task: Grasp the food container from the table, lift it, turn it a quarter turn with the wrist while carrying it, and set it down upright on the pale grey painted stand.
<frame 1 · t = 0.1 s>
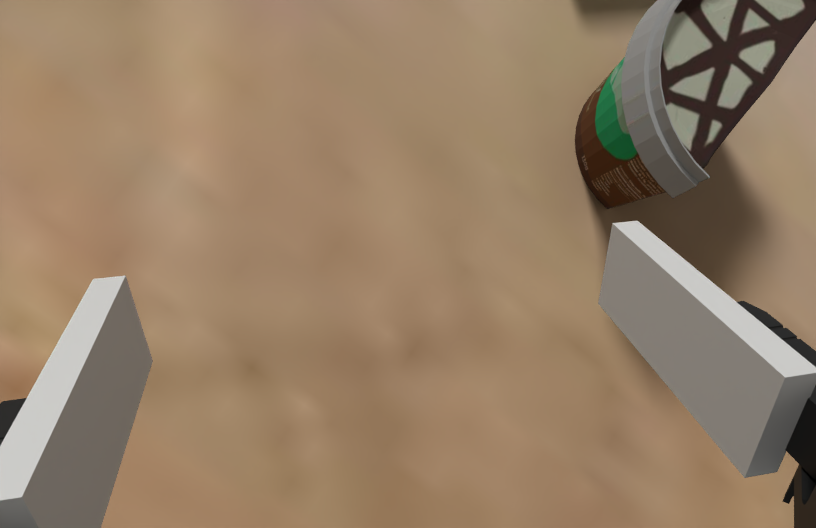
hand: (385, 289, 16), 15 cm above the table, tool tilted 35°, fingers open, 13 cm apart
food container: (612, 117, 34), on the table
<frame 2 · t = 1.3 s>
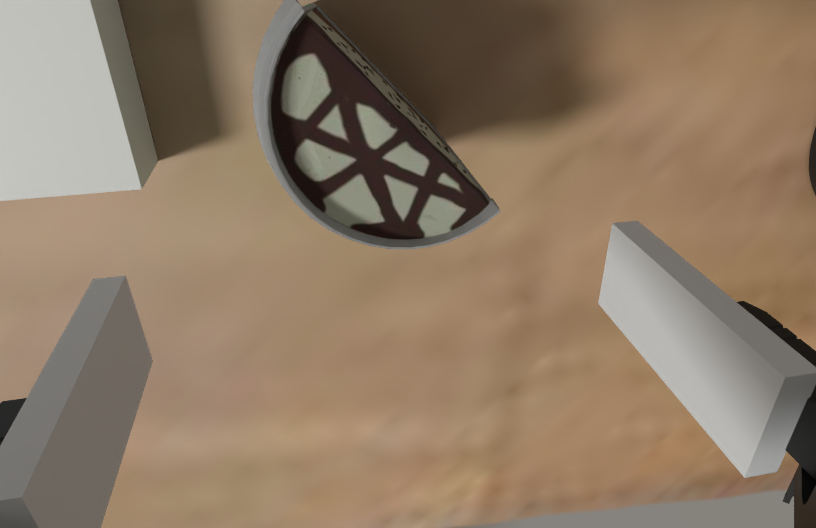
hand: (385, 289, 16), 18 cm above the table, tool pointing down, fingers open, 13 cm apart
food container: (339, 110, 32), on the table
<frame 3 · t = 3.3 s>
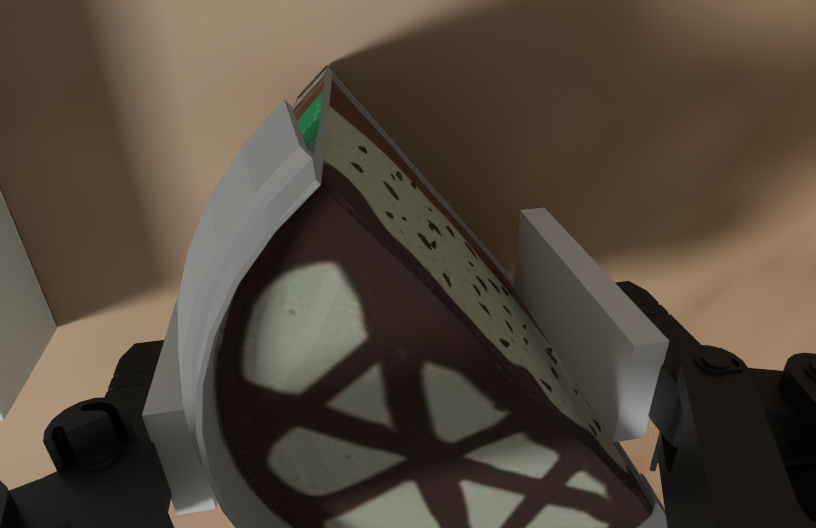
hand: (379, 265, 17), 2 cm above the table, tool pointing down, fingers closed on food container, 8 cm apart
food container: (355, 240, 19), on the table, touching gripper
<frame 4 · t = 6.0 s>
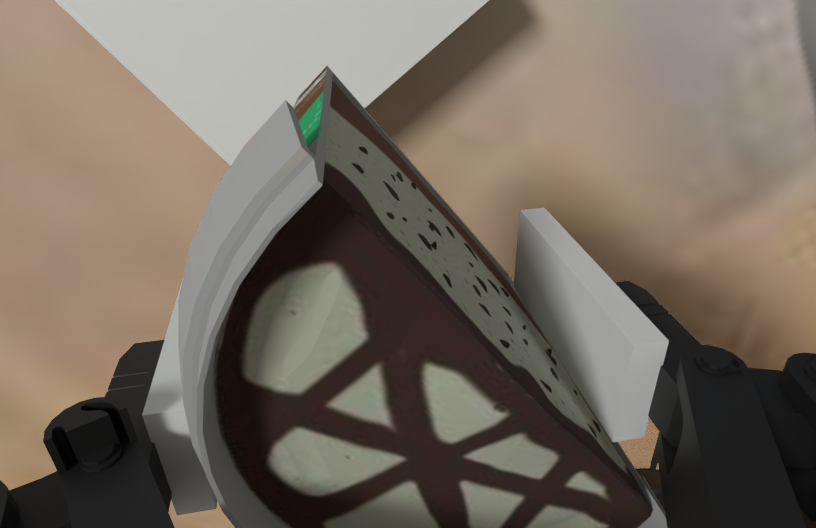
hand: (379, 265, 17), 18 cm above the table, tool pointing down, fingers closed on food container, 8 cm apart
food container: (354, 240, 19), point 16 cm above the table, touching gripper
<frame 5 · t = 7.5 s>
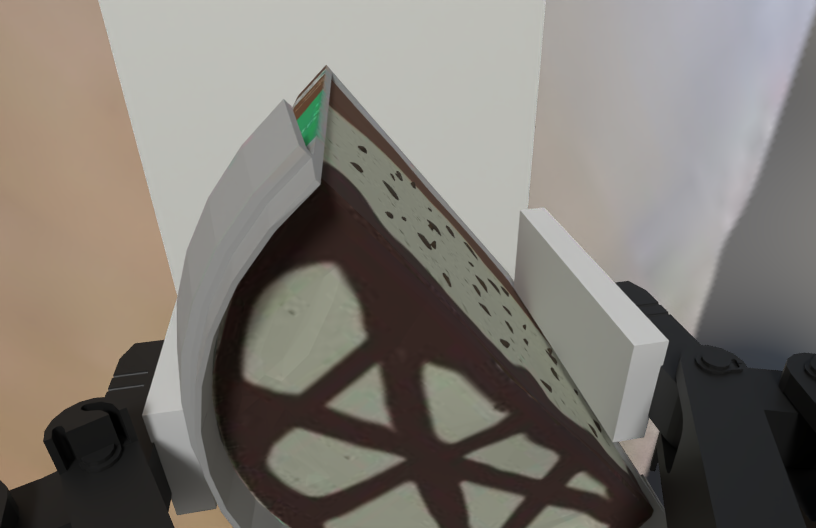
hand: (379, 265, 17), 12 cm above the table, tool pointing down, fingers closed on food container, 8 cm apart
stand: (342, 144, 27), on the table
food container: (354, 240, 19), point 10 cm above the table, touching gripper
when the fingers open (7 cm above the table, at t = 8.8 s): food container stays where it is, resting on stand.
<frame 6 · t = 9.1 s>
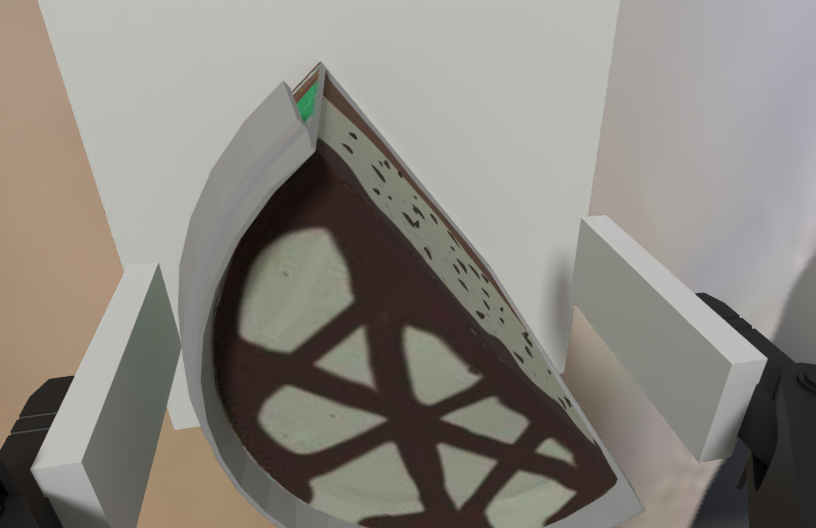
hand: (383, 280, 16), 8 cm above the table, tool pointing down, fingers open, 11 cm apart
stand: (355, 180, 23), on the table
food container: (343, 230, 20), point 4 cm above the table, touching stand
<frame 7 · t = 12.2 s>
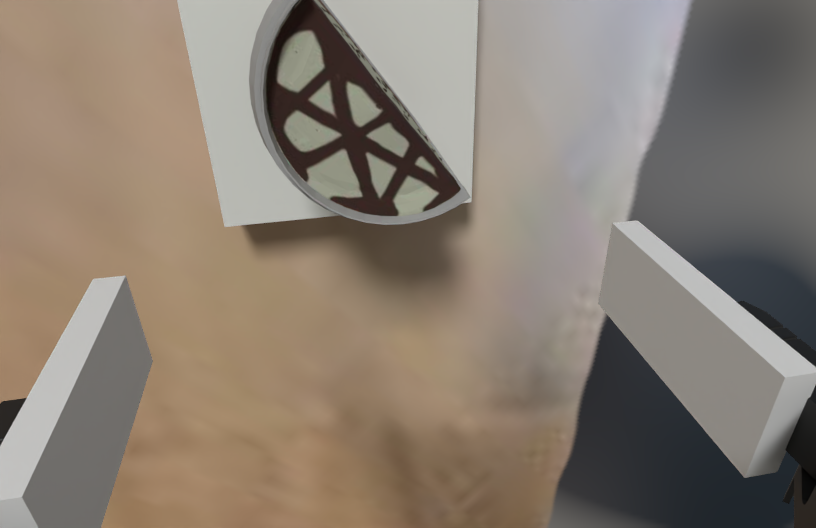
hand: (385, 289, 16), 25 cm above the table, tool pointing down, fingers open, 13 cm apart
stand: (336, 73, 36), on the table
food container: (327, 93, 33), point 4 cm above the table, touching stand
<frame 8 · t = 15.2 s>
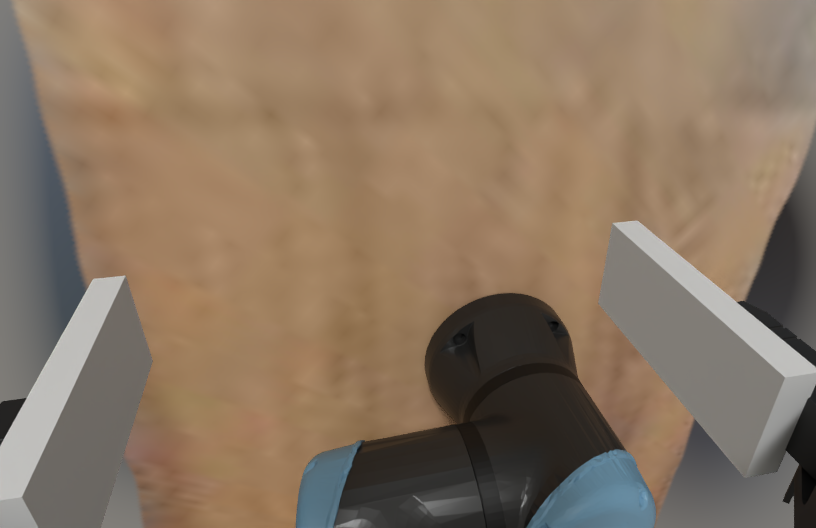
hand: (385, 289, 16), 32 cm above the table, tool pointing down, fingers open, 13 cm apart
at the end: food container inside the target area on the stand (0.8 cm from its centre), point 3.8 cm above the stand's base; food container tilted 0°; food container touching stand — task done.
